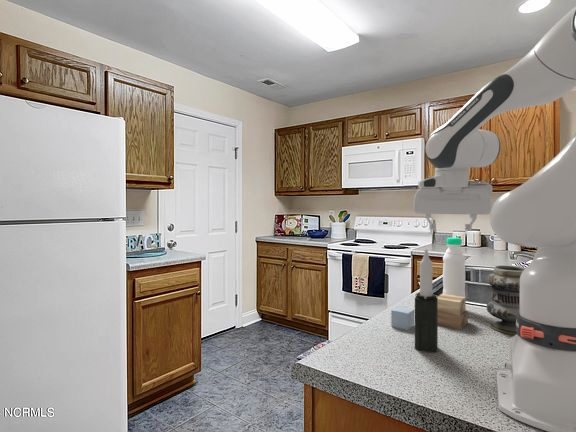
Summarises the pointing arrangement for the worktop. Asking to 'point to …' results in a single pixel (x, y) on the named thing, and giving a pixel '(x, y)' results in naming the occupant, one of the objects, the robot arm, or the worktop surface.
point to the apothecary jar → (505, 297)
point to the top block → (451, 304)
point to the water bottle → (454, 268)
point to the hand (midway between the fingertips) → (450, 230)
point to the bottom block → (453, 320)
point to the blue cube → (402, 318)
